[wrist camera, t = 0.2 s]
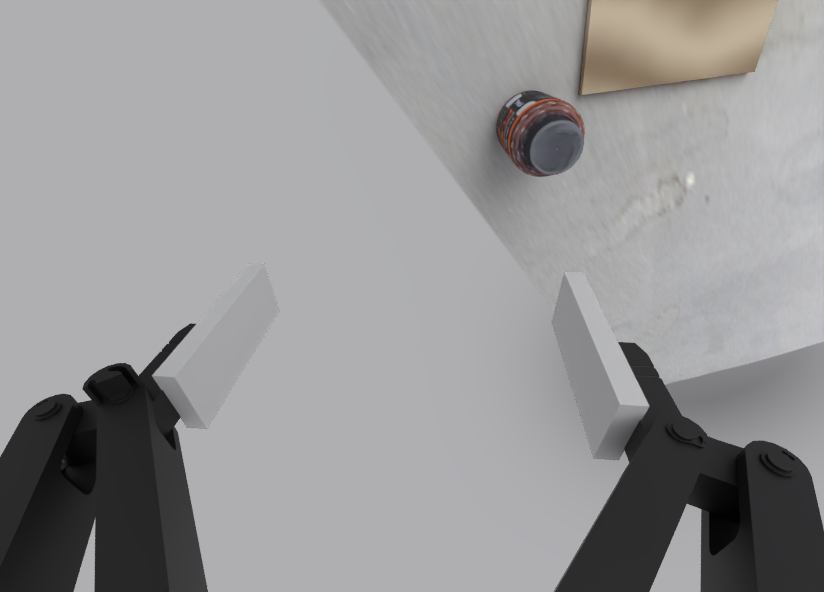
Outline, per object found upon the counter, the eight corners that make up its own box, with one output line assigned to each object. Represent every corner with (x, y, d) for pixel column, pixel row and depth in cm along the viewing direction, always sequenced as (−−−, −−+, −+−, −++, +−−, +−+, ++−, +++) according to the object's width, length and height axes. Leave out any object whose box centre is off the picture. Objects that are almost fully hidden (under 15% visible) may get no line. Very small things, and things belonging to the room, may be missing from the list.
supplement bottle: (491, 99, 36) (512, 114, 26) (554, 82, 35) (600, 92, 25) (498, 160, 39) (520, 194, 30) (556, 146, 38) (598, 177, 29)
